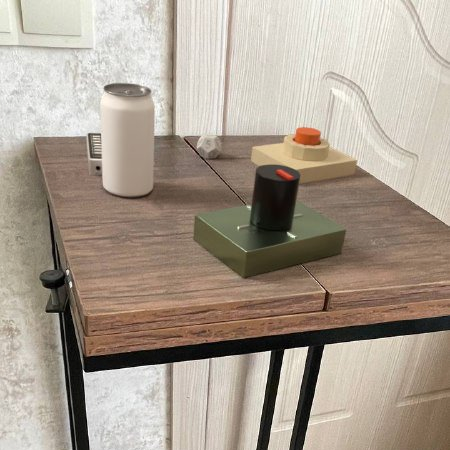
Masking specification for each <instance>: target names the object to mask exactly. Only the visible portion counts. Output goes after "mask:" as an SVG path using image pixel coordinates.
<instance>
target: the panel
mask: <svg viewBox="0 0 450 450" xmlns="http://www.w3.org/2000/svg"><path fill="white" fill-rule="evenodd" d="M251 206H252V203H250V204H243V205H238V206H233V207H228V208H227V207H226V208H222V209H217V210H212V211H206V212H201V213H196V214H194V220H193V221H194V222H193V223H194V224H193V241H195V242H196V243H197V244H199V245H200V246H201V247H203V248H204V249H205V250H207V252H209V253H211V254H212V255H213V256H214V257H216V258H217V259H218V260H220V262H222V263H223V264H225V265H226V266H227V267H228V268H229V269H231V270H232V271H233V272H235V273H236V274H238V275H239V276H240V277H241V278H243V279H244V278H250V277H254V276H257V275H260V274H261V275H262V274H264V273H269V272H273V271H277V270H281V269H284V268H289V267H292V266H296V265H300V264H304V263H308V262H313V261H316V260H320V259H324V258H328V257H332V256H336V255H340V254H342V252H343V247H344V243H345V237H346V233H347V228H345V227H344V226H342V225H341V224H339V223H337V222H336V221H334V220H332V219H330V218H329V217H327V216H325V215H323V214H322V213H320V212H318V211H316V210H315V209H314V208H311V207H310V206H308V205H307V204H305V203H304V202H301V200H298V199H297V200H296V206H295V212H294V218H293V224H292V226H291V227H290V228H288V229H285V230H268V229H263V228H260V227H258V226H256V225H254V224H253V223H252V222H251V221H250V214H251Z"/></svg>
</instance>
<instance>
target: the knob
mask: <svg viewBox="0 0 450 450" xmlns="http://www.w3.org/2000/svg"><path fill="white" fill-rule="evenodd" d="M299 182H300V173H299V172H298V171H297V170H295V169H293V168H290V167H287V166H283V165H274V164H269V165H262V166H257V167H256V169H255V174H254V182H253V188H252V189H253V191H252V199H251V204H252V206H251V214H250V221H251V222H252V223H253V224H254V225H256V226H258V227H260V228H263V229H268V230H285V229H288V228H290V227H291V226H292V224H293V218H294V212H295V206H296V200H298V193H299V188H300V187H299V186H300V184H299Z"/></svg>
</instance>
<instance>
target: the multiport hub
mask: <svg viewBox="0 0 450 450" xmlns="http://www.w3.org/2000/svg"><path fill="white" fill-rule="evenodd" d="M85 136H86V153H87V164H88V174H89V176H92V177H103V174H102V146H101V132H100V133H99V132H87V133H86V134H85Z"/></svg>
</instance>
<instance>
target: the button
mask: <svg viewBox="0 0 450 450" xmlns="http://www.w3.org/2000/svg"><path fill="white" fill-rule="evenodd" d="M295 134H296V135H295V142H297V143H299V144H302V145H310V146H316V145H319V141H320V137H321V136H322V132H321V130H319V129H316V128H312V127H308V126H301V127H297V128H296V129H295Z"/></svg>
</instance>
